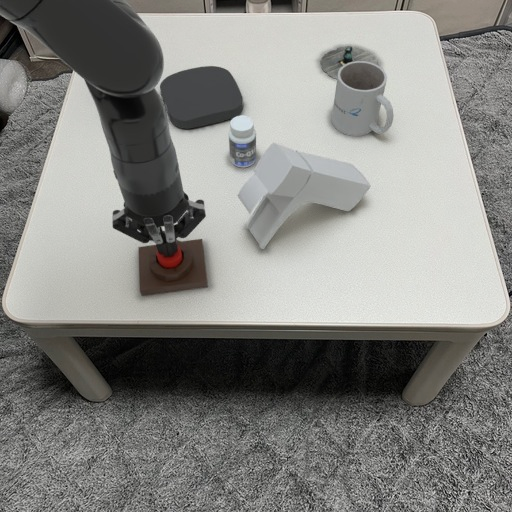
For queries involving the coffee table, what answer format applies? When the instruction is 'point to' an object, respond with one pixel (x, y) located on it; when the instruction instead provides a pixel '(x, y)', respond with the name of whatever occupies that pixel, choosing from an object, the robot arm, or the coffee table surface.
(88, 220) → the coffee table surface
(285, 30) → the coffee table surface
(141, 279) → the button box
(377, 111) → the mug
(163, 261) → the button
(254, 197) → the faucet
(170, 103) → the media streaming box
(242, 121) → the pill bottle
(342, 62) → the sculpture
